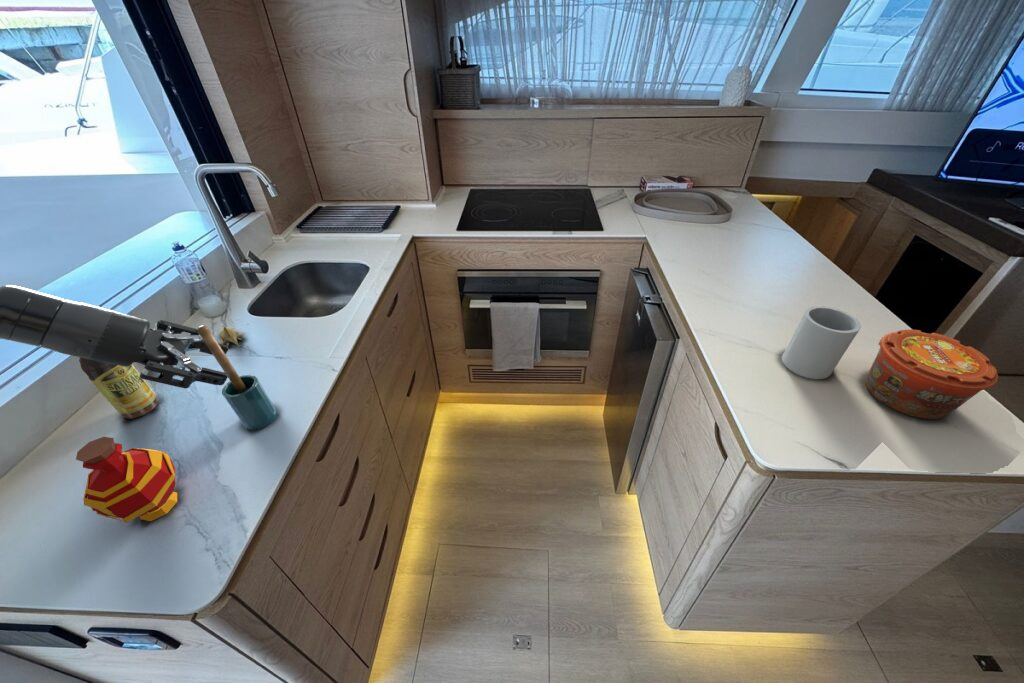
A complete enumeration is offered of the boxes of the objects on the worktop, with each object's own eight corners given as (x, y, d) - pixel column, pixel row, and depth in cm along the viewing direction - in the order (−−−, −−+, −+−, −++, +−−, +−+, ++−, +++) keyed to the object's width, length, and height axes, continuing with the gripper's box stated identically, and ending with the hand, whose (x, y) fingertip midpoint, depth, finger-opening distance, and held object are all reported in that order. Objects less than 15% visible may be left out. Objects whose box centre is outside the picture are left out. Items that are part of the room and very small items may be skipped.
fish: (237, 330, 102) (227, 314, 99) (255, 347, 94) (244, 330, 91) (216, 339, 99) (205, 322, 96) (233, 358, 91) (221, 340, 88)
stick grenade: (267, 417, 76) (211, 328, 63) (250, 423, 75) (189, 334, 62) (266, 407, 78) (211, 318, 65) (249, 413, 77) (190, 324, 64)
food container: (835, 371, 83) (862, 330, 76) (907, 364, 84) (939, 324, 77) (901, 431, 70) (939, 388, 64) (984, 423, 71) (1031, 380, 64)
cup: (777, 348, 89) (799, 303, 82) (823, 354, 87) (850, 309, 80) (787, 375, 82) (813, 329, 75) (837, 382, 80) (868, 335, 73)
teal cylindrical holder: (278, 422, 76) (258, 389, 71) (244, 434, 74) (221, 401, 69) (275, 403, 80) (256, 370, 75) (243, 414, 78) (221, 382, 73)
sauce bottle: (138, 423, 77) (63, 344, 65) (115, 416, 79) (38, 338, 66) (169, 399, 82) (105, 322, 70) (147, 394, 84) (81, 317, 71)
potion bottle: (208, 495, 64) (153, 437, 55) (135, 550, 58) (59, 496, 48) (178, 466, 69) (123, 408, 60) (107, 514, 62) (32, 458, 53)
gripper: (97, 339, 51) (236, 372, 63) (118, 291, 61) (235, 327, 73) (74, 383, 53) (215, 407, 64) (99, 329, 63) (217, 359, 74)
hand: (226, 365), depth 68 cm, fingers open, 8 cm apart
